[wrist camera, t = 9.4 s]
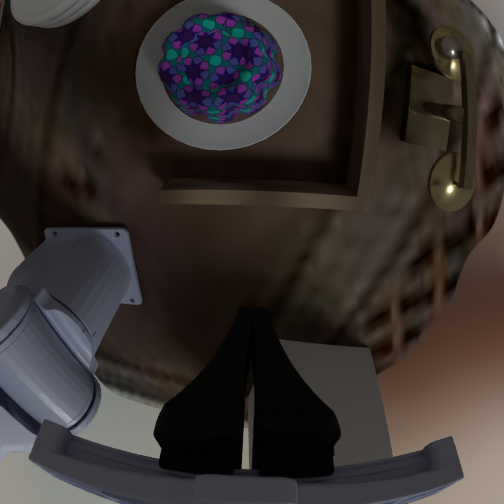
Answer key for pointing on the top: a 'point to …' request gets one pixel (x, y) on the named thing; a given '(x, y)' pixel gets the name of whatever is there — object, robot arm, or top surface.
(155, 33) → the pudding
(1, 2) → the skincare box
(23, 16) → the white short cylinder
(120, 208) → the top surface
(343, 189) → the holder
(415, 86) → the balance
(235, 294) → the top surface
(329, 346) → the milk
